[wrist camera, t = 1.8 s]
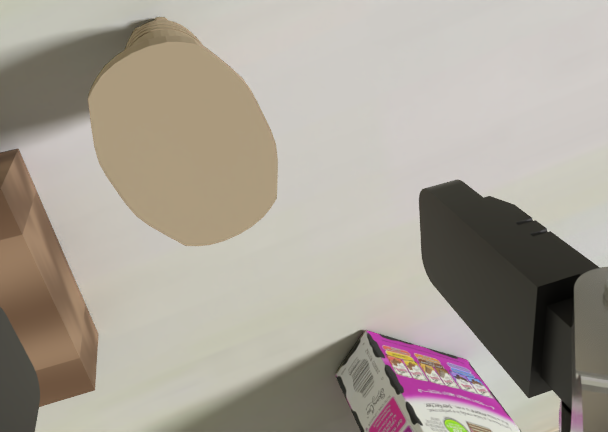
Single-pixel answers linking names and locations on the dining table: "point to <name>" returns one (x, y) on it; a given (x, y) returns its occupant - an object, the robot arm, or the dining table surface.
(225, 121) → the handle
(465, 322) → the robot arm
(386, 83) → the dining table surface
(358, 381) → the candy bar box
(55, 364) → the collar block
